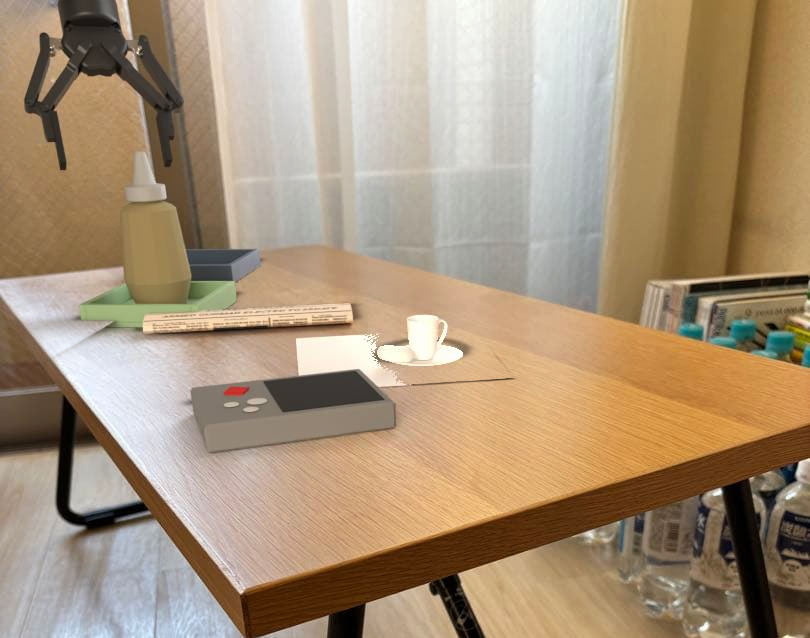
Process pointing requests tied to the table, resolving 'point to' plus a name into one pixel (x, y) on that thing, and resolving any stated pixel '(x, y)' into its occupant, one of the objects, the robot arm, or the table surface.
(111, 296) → the green tray
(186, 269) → the squeeze bottle
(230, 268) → the blue tray
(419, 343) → the teacup and saucer
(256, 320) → the newspaper
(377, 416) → the electronic device
